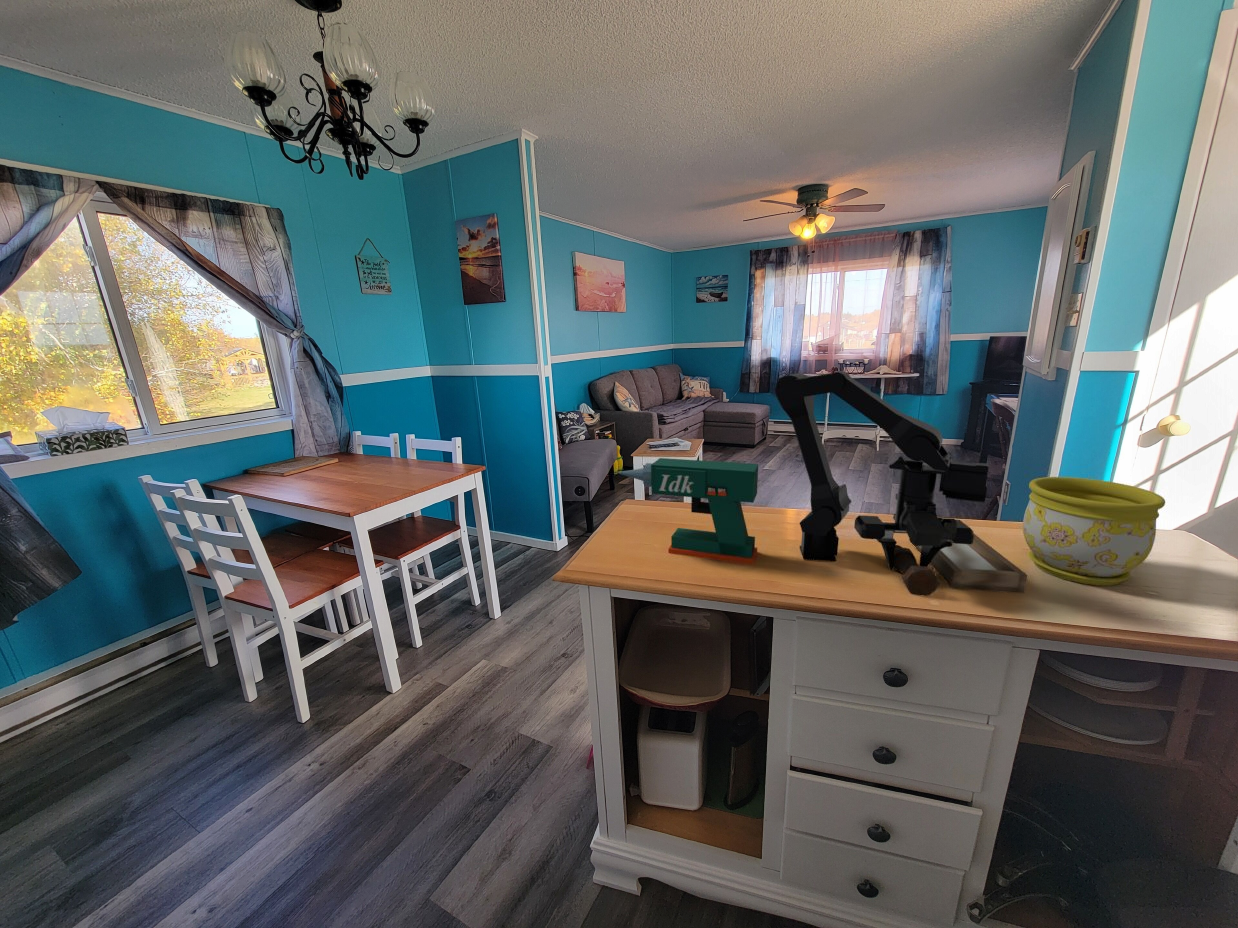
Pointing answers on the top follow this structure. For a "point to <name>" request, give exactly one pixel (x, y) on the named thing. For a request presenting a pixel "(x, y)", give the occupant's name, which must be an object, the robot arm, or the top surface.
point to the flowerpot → (1089, 528)
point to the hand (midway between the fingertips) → (906, 570)
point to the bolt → (914, 573)
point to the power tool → (707, 504)
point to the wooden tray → (977, 568)
